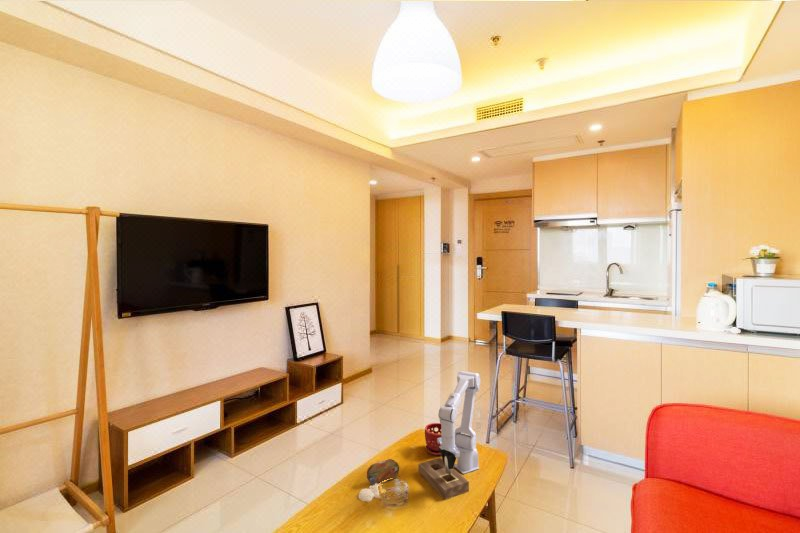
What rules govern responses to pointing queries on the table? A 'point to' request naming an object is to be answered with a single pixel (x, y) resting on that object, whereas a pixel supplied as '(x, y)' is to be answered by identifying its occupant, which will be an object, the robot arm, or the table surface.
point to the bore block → (443, 478)
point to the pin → (447, 470)
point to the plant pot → (432, 438)
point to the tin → (382, 471)
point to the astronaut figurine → (369, 493)
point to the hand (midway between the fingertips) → (448, 466)
